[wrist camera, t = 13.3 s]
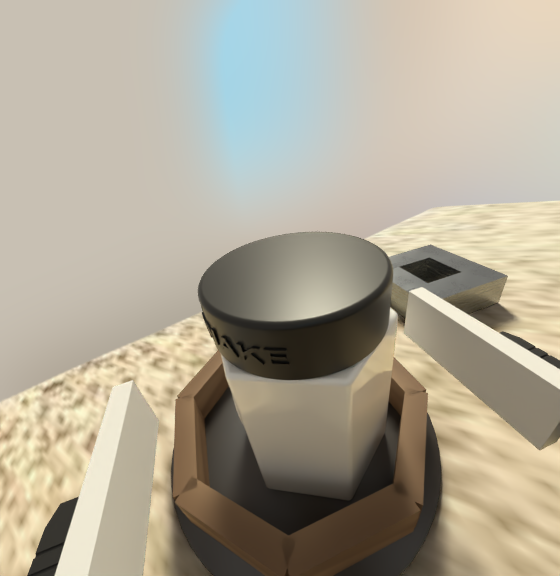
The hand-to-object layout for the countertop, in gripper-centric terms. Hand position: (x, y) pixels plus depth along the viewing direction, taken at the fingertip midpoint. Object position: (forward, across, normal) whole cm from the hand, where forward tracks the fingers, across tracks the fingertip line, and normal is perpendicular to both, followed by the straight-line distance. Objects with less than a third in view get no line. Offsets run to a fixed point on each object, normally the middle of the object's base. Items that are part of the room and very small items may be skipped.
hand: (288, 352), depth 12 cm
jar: (+1, +1, -8) cm, 8 cm away
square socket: (+10, +18, -8) cm, 22 cm away
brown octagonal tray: (+2, 0, -8) cm, 9 cm away
